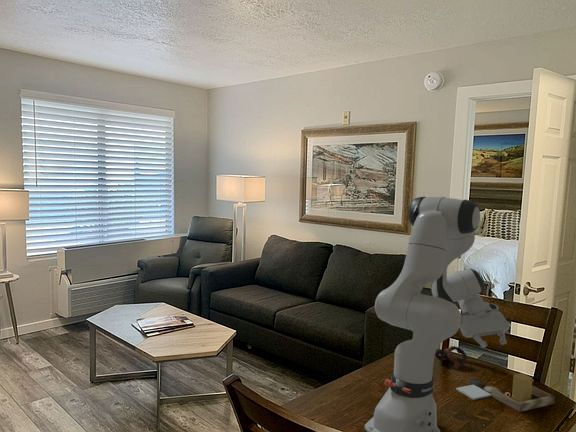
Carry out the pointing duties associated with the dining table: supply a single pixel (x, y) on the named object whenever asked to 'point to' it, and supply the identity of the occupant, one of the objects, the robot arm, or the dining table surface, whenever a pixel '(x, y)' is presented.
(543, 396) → the cubby
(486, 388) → the painted circle
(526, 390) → the ochre block
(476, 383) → the hole disc
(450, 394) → the dining table surface
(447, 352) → the pottery mug
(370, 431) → the robot arm
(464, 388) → the pad
